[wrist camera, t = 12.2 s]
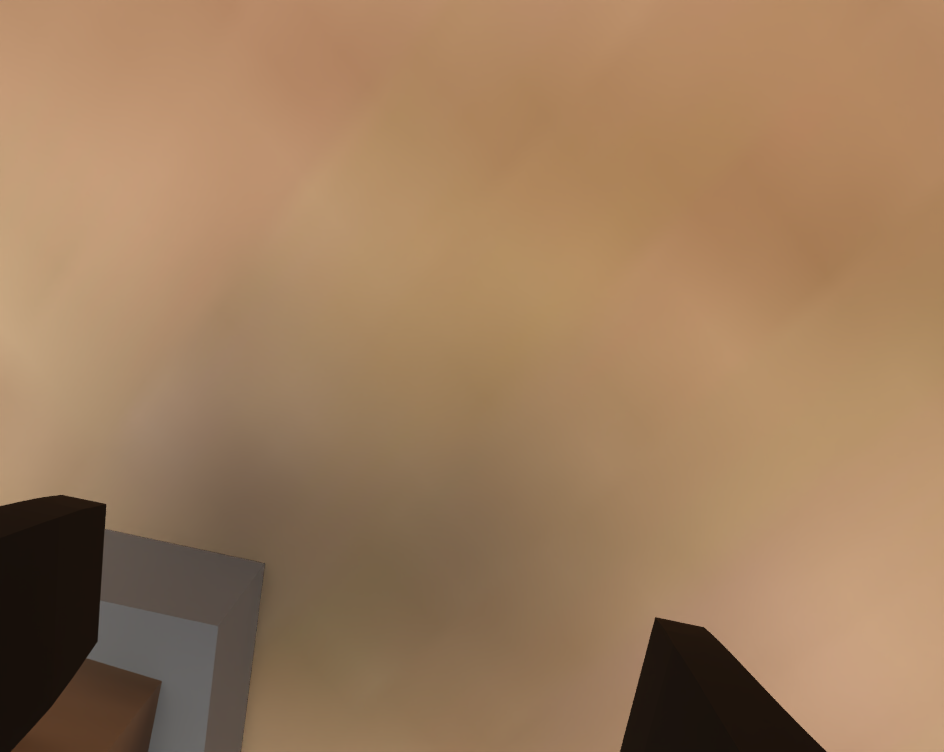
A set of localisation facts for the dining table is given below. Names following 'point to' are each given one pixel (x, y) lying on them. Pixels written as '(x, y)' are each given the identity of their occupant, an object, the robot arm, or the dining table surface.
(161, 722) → the pedestal block
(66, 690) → the walnut block
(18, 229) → the dining table surface
